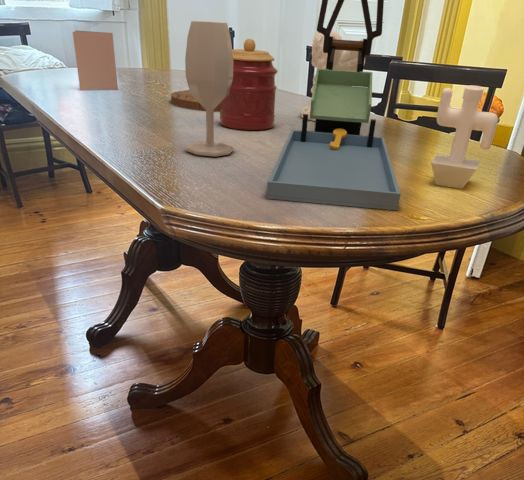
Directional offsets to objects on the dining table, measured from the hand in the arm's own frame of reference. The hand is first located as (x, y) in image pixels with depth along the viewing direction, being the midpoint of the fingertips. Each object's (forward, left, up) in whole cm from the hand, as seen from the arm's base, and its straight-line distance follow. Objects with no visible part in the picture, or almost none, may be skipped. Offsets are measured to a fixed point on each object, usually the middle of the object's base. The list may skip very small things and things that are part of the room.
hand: (344, 70), depth 117 cm
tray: (-13, +37, -12) cm, 41 cm away
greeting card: (+81, -6, -13) cm, 82 cm away
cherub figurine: (+8, -11, -13) cm, 19 cm away
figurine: (-32, +33, -13) cm, 48 cm away
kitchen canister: (+19, +12, -13) cm, 25 cm away
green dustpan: (-3, +8, -4) cm, 9 cm away
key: (-8, +21, -11) cm, 25 cm away
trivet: (+41, -10, -13) cm, 44 cm away
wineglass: (+12, +40, -13) cm, 43 cm away
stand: (-4, +13, -12) cm, 18 cm away
